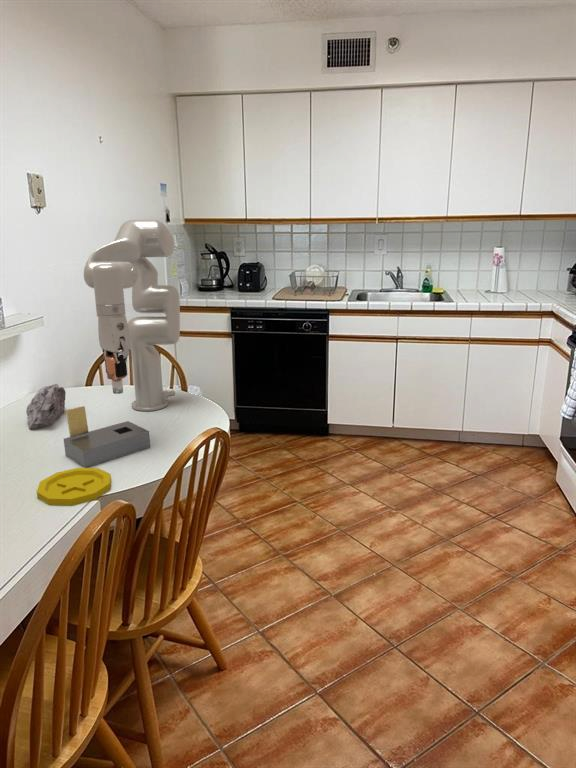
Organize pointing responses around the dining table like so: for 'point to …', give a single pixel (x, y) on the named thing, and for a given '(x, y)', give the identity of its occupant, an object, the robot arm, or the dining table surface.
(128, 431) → the plate
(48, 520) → the dining table surface
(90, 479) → the decorative disc
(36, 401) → the rock
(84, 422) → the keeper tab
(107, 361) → the small bottle
